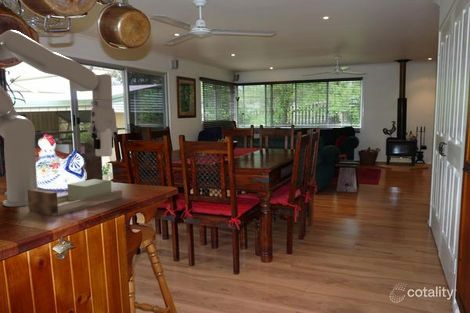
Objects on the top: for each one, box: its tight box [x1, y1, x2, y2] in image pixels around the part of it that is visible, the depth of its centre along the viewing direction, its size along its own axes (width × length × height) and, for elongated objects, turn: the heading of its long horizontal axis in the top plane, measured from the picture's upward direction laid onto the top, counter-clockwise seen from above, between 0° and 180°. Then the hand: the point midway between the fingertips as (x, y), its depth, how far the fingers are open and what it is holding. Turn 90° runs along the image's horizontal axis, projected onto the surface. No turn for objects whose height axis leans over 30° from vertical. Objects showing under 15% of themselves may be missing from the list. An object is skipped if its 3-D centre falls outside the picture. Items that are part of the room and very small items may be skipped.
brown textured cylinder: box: [83, 140, 104, 181], centre depth 167 cm, size 8×7×20 cm
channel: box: [27, 188, 123, 218], centre depth 132 cm, size 12×30×8 cm, turn 152°
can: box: [95, 129, 113, 157], centre depth 152 cm, size 6×6×12 cm
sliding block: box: [67, 179, 112, 201], centre depth 137 cm, size 9×12×6 cm
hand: (103, 147), depth 153 cm, fingers closed on can, 6 cm apart
